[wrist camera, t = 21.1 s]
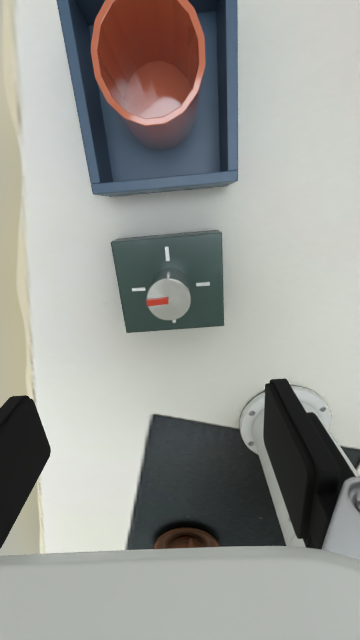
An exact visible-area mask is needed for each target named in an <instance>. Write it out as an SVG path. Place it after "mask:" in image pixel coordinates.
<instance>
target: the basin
mask: <svg viewBox="0 0 360 640" xmlns="http://www.w3.org/2000/svg"><path fill="white" fill-rule="evenodd" d="M188 1H189V3H190V4H191V5H192V6H193V7H194V9H195V11H196V14H197V17H198V19H199V22H200V25H201V28H202V30H203V33H204V37H205V59H206V66H205V72H204V78H203V84H202V90H201V96H200V102H199V109H198V113H197V117H196V121H195V124H194V127H193V129H192V131H191V132H190V134H189V136H188V137H187V138H186V139H185V140H184V141H183V142H182V143H181V144H180V145H178V146H177V147H175V148H173V149H170V150H165V151H156V150H152V149H149V148H147V147H145V146H143V145H141V144H140V143H139V142H138V141H137V140H136V139H135V138H134V137H133V136H132V135H131V134H130V133H129V131H128V130H127V129H126V127H125V126H124V124H123V123H122V122H121V120H120V119H119V118H118V116H117V115H116V113H115V112H114V111H113V109H112V108H111V106H110V105H109V104H108V102H107V101H106V99H105V97H104V95H103V93H102V91H101V89H100V87H99V85H98V83H97V81H96V79H95V75H94V68H93V62H92V56H91V42H92V35H93V28H94V22H95V19H96V17H97V15H98V13H99V11H100V9H101V7H102V6H103V4H104V2H105V0H57V5H58V10H59V15H60V21H61V26H62V31H63V37H64V42H65V47H66V53H67V58H68V63H69V69H70V74H71V79H72V85H73V90H74V96H75V101H76V106H77V112H78V117H79V122H80V128H81V133H82V138H83V144H84V149H85V154H86V160H87V165H88V170H89V176H90V181H91V186H92V192H93V194H94V195H101V196H109V197H112V196H123V195H134V194H144V193H155V192H166V191H177V190H187V189H198V188H209V187H220V186H227V185H230V184H232V183H234V182H236V181H238V63H237V0H188Z"/></svg>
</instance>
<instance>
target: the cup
mask: <svg viewBox="0 0 360 640" xmlns="http://www.w3.org/2000/svg"><path fill="white" fill-rule="evenodd" d="M91 56H92V62H93V68H94V75H95V79H96V81H97V83H98V85H99V87H100V89H101V91H102V93H103V95H104V97H105V99H106V101H107V102H108V104H109V105H110V106H111V108H112V109H113V111H114V112H115V113H116V115H117V116H118V118H119V119H120V120H121V122H122V123H123V124H124V126H125V127H126V129H127V130H128V131H129V133H130V134H131V135H132V136H133V137H134V138H135V139H136V140H137V141H138V142H139V143H140V144H141V145H143V146H145V147H147V148H149V149H152V150H156V151H165V150H170V149H173V148H175V147H177V146H178V145H180V144H181V143H182V142H183V141H184V140H185V139H186V138H187V137H188V136H189V134H190V132H191V131H192V129H193V127H194V124H195V121H196V117H197V113H198V109H199V102H200V96H201V90H202V84H203V78H204V72H205V66H206V59H205V37H204V33H203V30H202V28H201V25H200V22H199V19H198V17H197V14H196V11H195V9H194V7H193V6H192V5H191V4H190V3H189V1H188V0H105V2H104V4H103V6H102V7H101V9H100V11H99V13H98V15H97V17H96V19H95V22H94V28H93V35H92V42H91Z"/></svg>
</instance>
